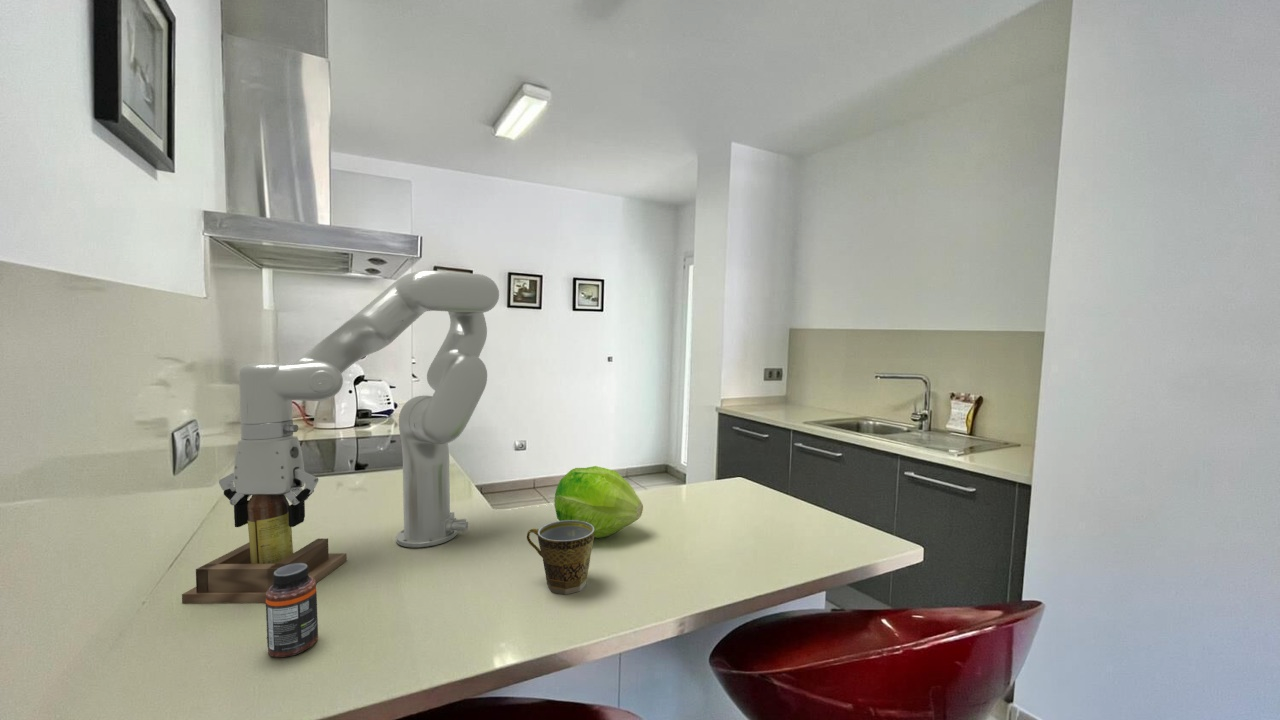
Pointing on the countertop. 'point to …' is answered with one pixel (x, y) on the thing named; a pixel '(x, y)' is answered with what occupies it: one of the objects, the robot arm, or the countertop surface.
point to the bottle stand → (255, 574)
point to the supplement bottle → (291, 611)
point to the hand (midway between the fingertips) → (270, 524)
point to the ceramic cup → (565, 554)
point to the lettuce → (597, 500)
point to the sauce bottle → (269, 529)
